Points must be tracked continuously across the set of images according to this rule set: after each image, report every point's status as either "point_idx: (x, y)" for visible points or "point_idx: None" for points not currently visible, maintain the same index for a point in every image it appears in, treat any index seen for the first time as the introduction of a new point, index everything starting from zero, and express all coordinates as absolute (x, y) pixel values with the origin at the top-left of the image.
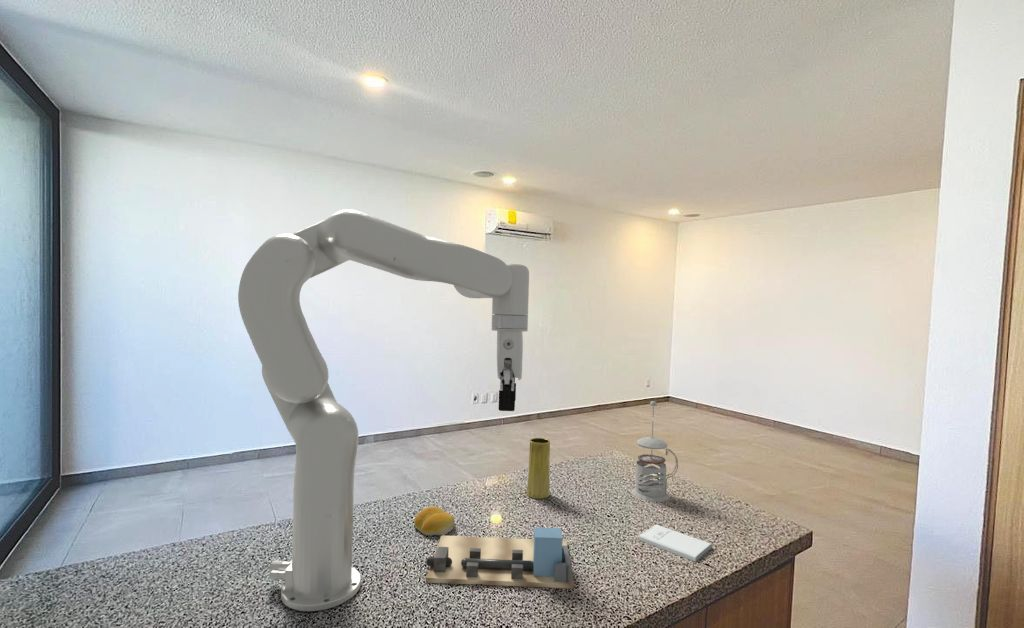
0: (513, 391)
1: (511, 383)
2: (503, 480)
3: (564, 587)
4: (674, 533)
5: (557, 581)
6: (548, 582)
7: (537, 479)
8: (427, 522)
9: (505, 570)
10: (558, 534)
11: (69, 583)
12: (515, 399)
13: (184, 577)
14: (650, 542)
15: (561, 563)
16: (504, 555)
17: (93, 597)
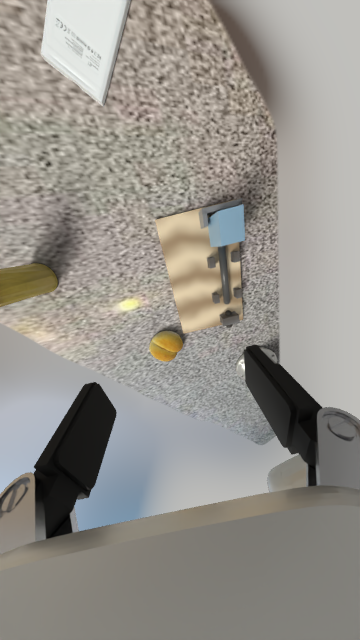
0: (310, 409)
1: (61, 475)
2: (29, 326)
3: None
4: (60, 7)
5: None
6: None
7: (38, 281)
8: (179, 349)
9: None
10: (235, 211)
11: (258, 436)
12: (90, 386)
13: (250, 413)
14: (108, 79)
15: None
16: (202, 276)
17: (267, 425)
